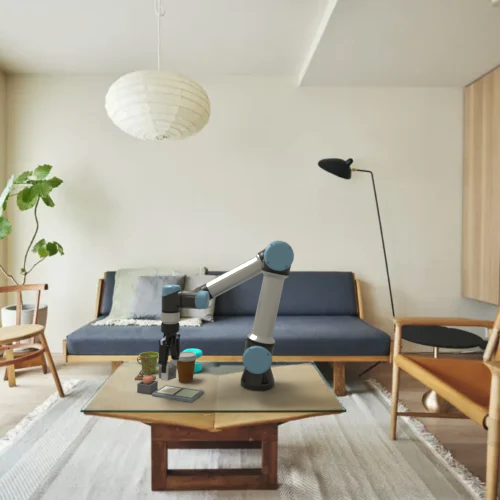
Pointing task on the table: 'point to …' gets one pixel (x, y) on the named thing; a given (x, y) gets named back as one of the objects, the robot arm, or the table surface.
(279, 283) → the robot arm
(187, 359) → the disposable coffee cup
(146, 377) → the button
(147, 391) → the button housing
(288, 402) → the table surface
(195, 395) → the picture board
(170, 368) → the dice cube
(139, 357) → the brown scrollwork sculpture
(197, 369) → the donuts
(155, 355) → the plant pot
